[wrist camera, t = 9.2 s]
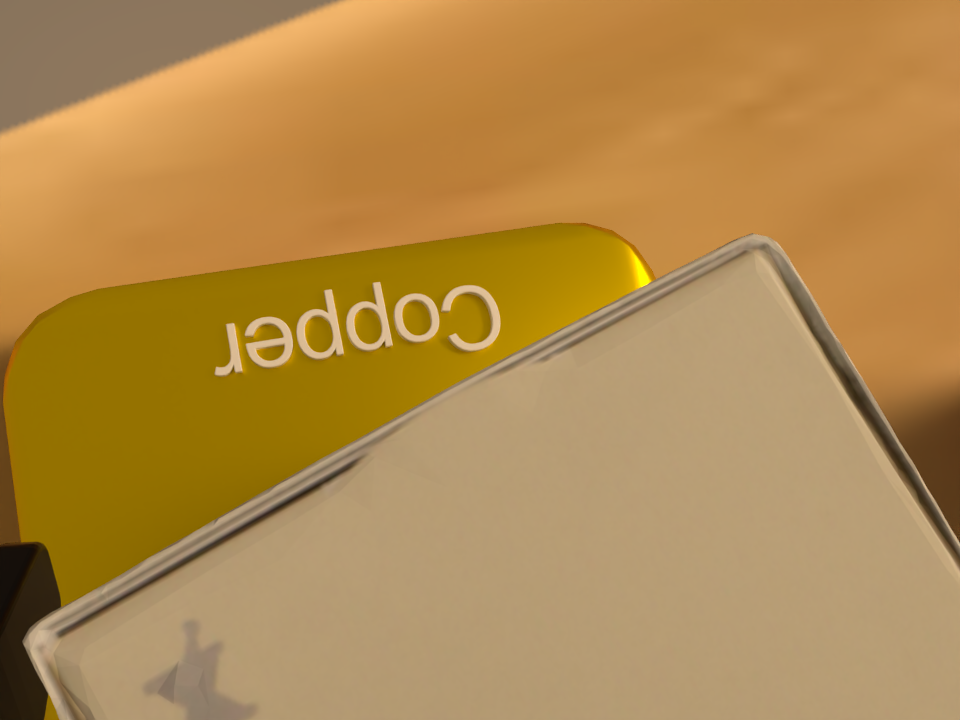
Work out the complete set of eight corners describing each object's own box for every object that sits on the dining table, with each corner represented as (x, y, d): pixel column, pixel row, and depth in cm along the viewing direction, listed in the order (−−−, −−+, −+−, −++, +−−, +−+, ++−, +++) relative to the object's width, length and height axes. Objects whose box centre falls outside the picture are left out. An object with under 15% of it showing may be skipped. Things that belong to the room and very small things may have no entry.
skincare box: (323, 759, 16) (319, 1374, 5) (218, 558, 17) (-35, 644, 5) (585, 591, 18) (1088, 722, 6) (484, 411, 18) (779, 209, 6)
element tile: (589, 258, 25) (652, 199, 20) (713, 781, 23) (817, 848, 18) (48, 342, 21) (-26, 293, 17) (134, 969, 19) (78, 1112, 14)
